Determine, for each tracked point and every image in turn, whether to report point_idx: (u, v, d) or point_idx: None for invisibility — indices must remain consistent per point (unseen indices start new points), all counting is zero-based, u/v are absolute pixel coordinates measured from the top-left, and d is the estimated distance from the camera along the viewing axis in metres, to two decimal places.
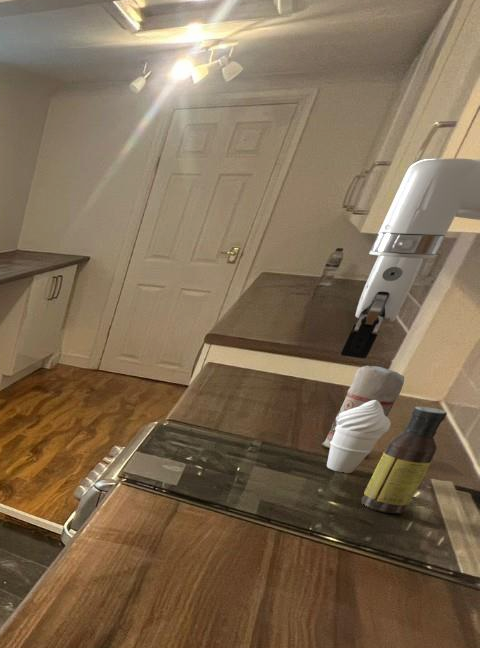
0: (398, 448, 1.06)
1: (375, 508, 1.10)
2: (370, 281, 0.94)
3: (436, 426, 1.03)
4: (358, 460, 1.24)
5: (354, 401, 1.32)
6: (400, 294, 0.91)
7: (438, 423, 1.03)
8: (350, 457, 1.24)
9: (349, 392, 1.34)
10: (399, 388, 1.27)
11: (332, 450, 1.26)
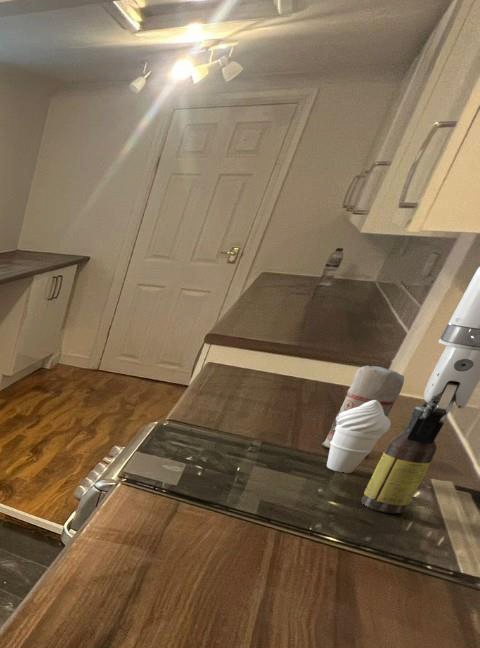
0: (398, 448, 1.06)
1: (375, 508, 1.10)
2: (441, 370, 0.99)
3: None
4: (358, 460, 1.24)
5: (354, 401, 1.32)
6: (471, 384, 0.96)
7: None
8: (350, 457, 1.24)
9: (349, 392, 1.34)
10: (399, 388, 1.27)
11: (332, 450, 1.26)
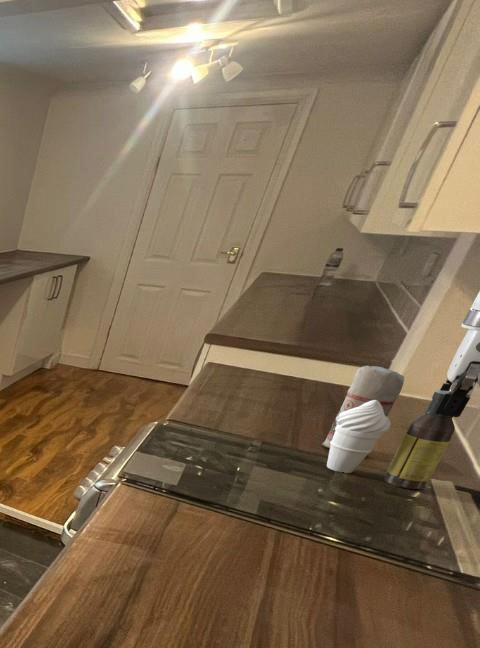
0: (419, 428, 1.16)
1: (397, 484, 1.20)
2: (464, 351, 1.08)
3: None
4: (358, 460, 1.24)
5: (354, 401, 1.32)
6: None
7: None
8: (350, 457, 1.24)
9: (349, 392, 1.34)
10: (399, 388, 1.27)
11: (332, 450, 1.26)
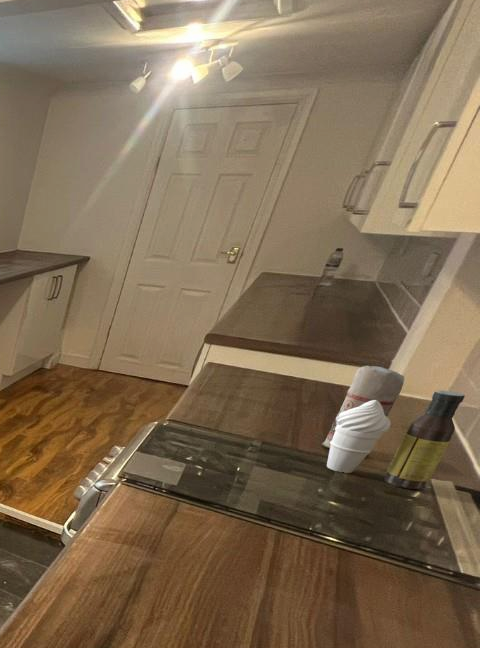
0: (419, 428, 1.16)
1: (397, 484, 1.20)
2: None
3: (455, 408, 1.13)
4: (358, 460, 1.24)
5: (354, 401, 1.32)
6: None
7: (456, 405, 1.12)
8: (350, 457, 1.24)
9: (349, 392, 1.34)
10: (399, 388, 1.28)
11: (332, 450, 1.26)
